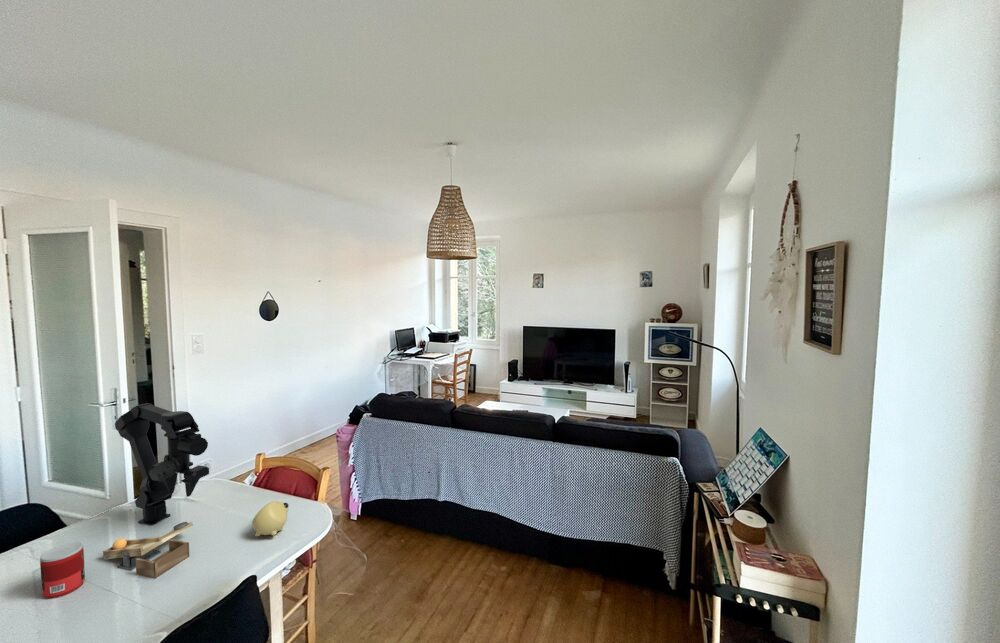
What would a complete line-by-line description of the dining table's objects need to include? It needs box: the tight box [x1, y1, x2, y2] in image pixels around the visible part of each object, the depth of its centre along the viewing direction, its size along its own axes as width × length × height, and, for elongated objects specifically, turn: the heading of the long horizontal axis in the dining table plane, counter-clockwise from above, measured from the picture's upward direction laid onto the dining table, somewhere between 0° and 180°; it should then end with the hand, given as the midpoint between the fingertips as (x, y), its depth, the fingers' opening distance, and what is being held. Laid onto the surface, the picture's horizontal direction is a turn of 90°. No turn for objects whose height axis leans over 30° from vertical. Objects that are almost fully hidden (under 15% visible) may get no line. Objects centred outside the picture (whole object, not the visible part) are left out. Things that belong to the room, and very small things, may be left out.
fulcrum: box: [117, 548, 162, 572], centre depth 123 cm, size 5×8×4 cm, turn 168°
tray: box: [135, 538, 190, 579], centre depth 121 cm, size 7×10×4 cm
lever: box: [102, 521, 194, 560], centre depth 128 cm, size 15×16×2 cm
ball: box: [111, 537, 127, 550], centre depth 124 cm, size 3×3×3 cm
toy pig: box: [251, 501, 289, 537], centre depth 138 cm, size 10×12×11 cm
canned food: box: [39, 541, 86, 600], centre depth 110 cm, size 8×8×11 cm
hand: (180, 494), depth 138 cm, fingers open, 7 cm apart
